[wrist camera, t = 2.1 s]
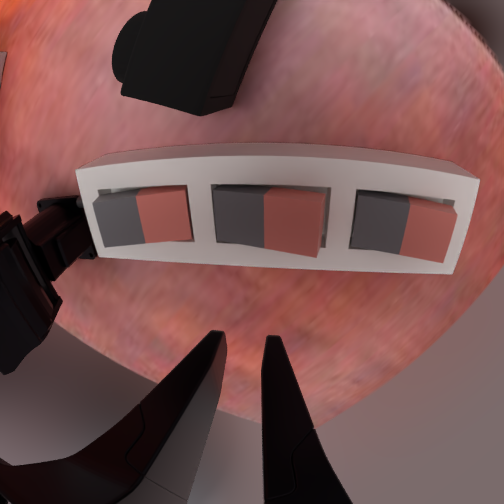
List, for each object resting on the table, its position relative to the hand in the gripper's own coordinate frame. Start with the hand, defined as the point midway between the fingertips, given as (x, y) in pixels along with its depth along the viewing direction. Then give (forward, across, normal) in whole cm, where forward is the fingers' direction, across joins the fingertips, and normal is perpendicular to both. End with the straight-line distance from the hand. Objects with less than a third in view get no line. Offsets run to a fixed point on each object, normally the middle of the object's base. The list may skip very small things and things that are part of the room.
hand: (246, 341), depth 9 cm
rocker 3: (+9, -8, 0) cm, 12 cm away
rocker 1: (+9, +8, 0) cm, 12 cm away
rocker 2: (+9, 0, 0) cm, 9 cm away
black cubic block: (+13, +3, -12) cm, 18 cm away
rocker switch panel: (+13, +1, 0) cm, 13 cm away
